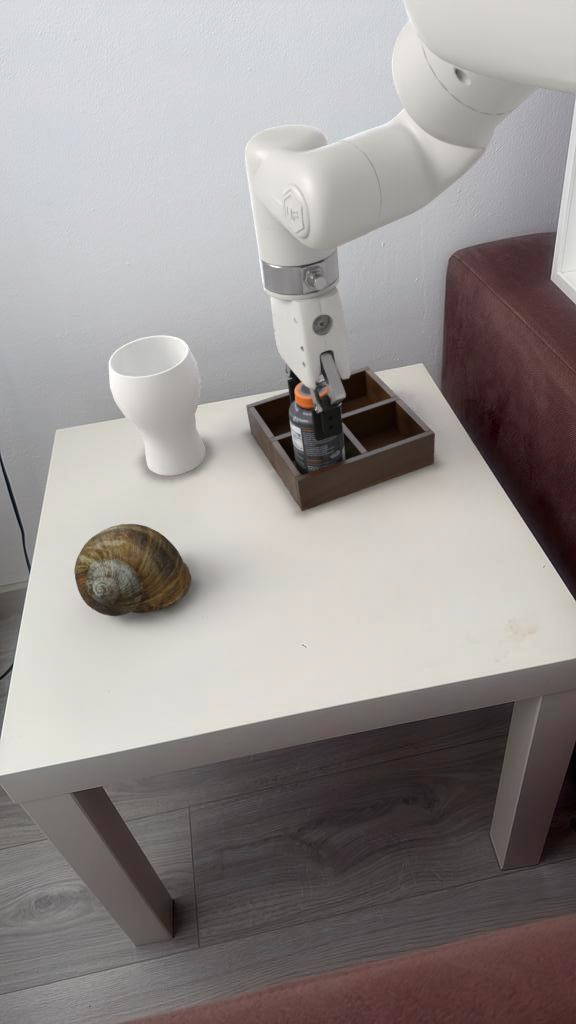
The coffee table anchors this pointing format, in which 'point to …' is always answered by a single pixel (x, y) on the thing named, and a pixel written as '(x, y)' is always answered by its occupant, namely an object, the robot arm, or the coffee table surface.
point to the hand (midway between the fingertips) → (316, 419)
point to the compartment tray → (347, 441)
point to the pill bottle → (312, 435)
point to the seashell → (130, 571)
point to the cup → (160, 400)
